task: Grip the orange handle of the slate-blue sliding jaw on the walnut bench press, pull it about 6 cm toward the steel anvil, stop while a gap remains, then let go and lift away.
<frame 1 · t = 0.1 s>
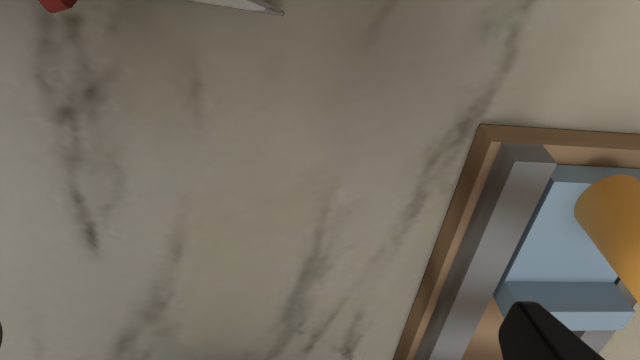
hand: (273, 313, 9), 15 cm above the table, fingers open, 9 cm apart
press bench: (514, 283, 33), on the table
press jaw: (613, 285, 25), point 6 cm above the table, slide at 0.0 cm
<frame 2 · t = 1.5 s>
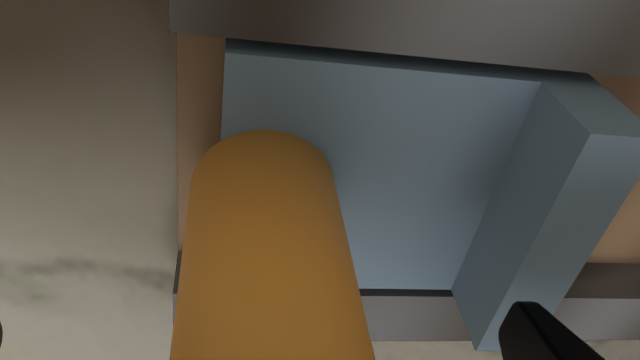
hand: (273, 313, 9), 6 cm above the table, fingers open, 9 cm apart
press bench: (560, 142, 16), on the table
press jaw: (408, 286, 10), point 6 cm above the table, slide at 0.0 cm
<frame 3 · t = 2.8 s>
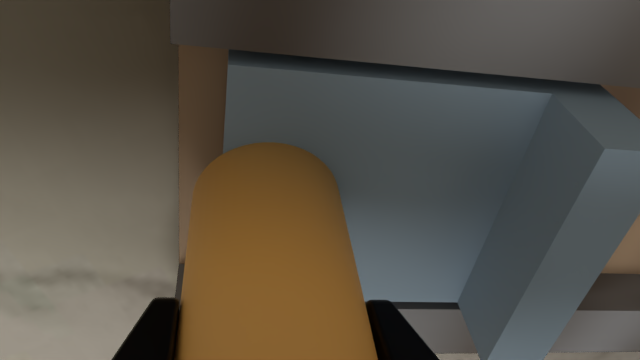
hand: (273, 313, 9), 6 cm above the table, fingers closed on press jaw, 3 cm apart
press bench: (568, 151, 16), on the table
press jaw: (416, 305, 10), point 6 cm above the table, slide at 0.0 cm, touching gripper
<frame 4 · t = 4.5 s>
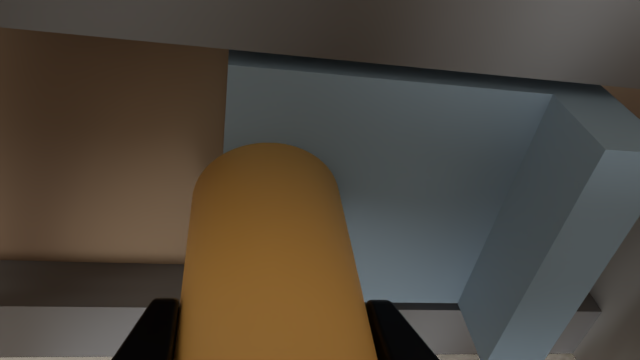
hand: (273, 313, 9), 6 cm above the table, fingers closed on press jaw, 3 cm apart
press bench: (376, 139, 15), on the table
press jaw: (416, 305, 10), point 6 cm above the table, slide at 5.9 cm, touching gripper
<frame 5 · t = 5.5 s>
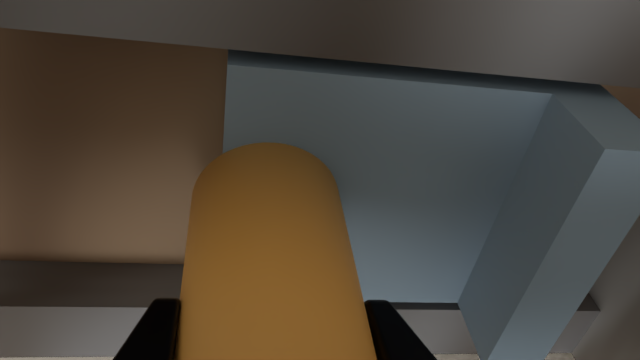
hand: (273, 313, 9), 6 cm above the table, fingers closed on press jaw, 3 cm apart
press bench: (374, 138, 15), on the table
press jaw: (416, 305, 10), point 6 cm above the table, slide at 5.9 cm, touching gripper
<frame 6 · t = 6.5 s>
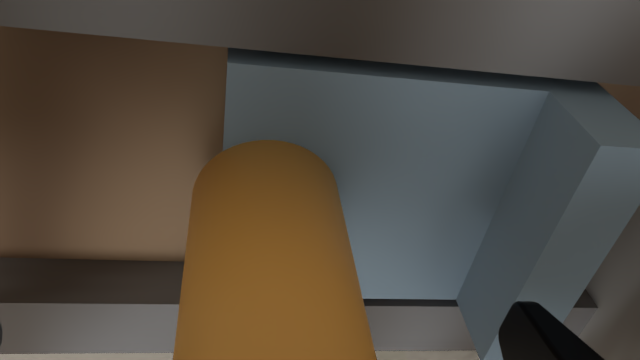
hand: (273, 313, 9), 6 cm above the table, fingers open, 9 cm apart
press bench: (373, 136, 15), on the table
press jaw: (414, 300, 10), point 6 cm above the table, slide at 5.9 cm
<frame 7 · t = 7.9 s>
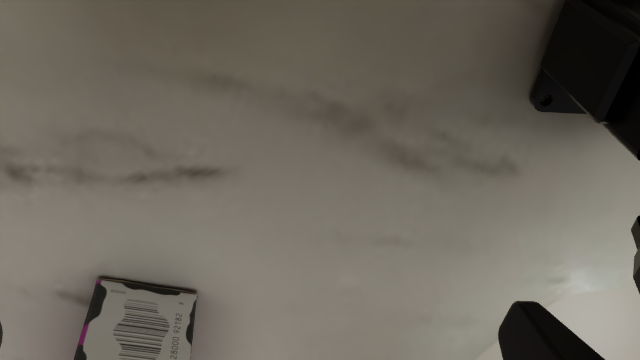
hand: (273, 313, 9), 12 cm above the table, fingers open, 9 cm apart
candy bar box: (129, 348, 29), on the table
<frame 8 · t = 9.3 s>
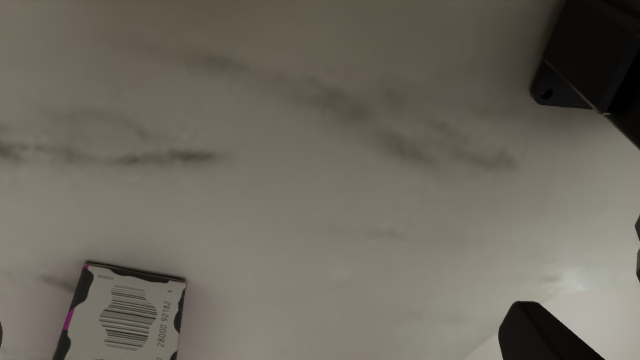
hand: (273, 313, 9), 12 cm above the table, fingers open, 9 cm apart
candy bar box: (115, 336, 28), on the table
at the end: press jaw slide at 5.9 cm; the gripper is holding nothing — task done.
